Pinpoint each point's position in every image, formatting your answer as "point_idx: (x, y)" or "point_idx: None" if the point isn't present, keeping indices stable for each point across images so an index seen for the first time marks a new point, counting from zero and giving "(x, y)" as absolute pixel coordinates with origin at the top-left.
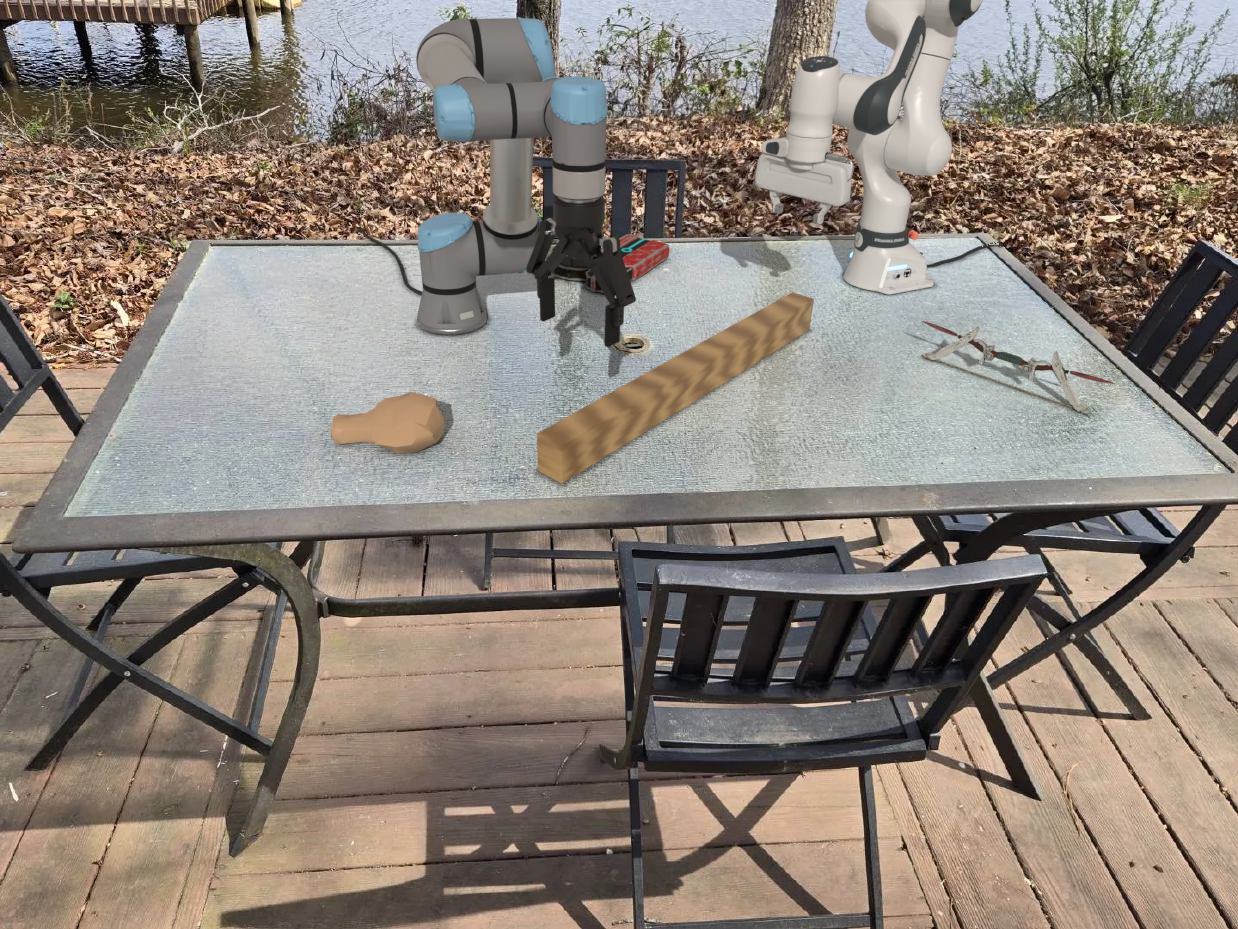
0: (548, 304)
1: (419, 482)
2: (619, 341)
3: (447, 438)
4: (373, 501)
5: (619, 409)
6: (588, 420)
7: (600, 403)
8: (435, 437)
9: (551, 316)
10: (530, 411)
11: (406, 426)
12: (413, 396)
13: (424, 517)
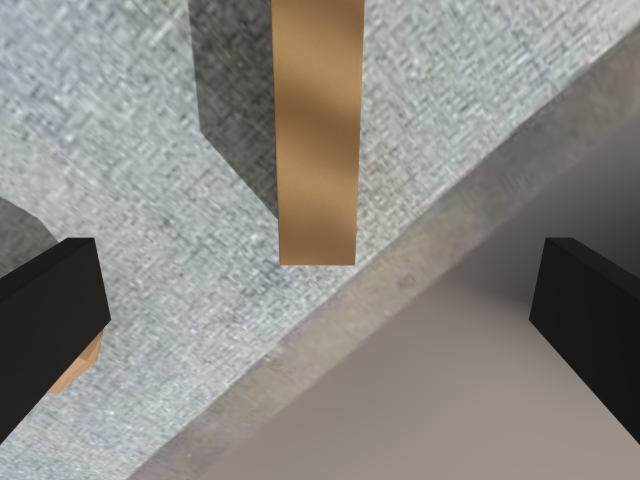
0: (50, 333)
1: (173, 368)
2: (573, 240)
3: None
4: (171, 429)
5: (355, 39)
6: (329, 145)
7: (293, 50)
8: None
9: (95, 271)
10: (93, 71)
11: (68, 384)
12: None
13: (253, 410)
